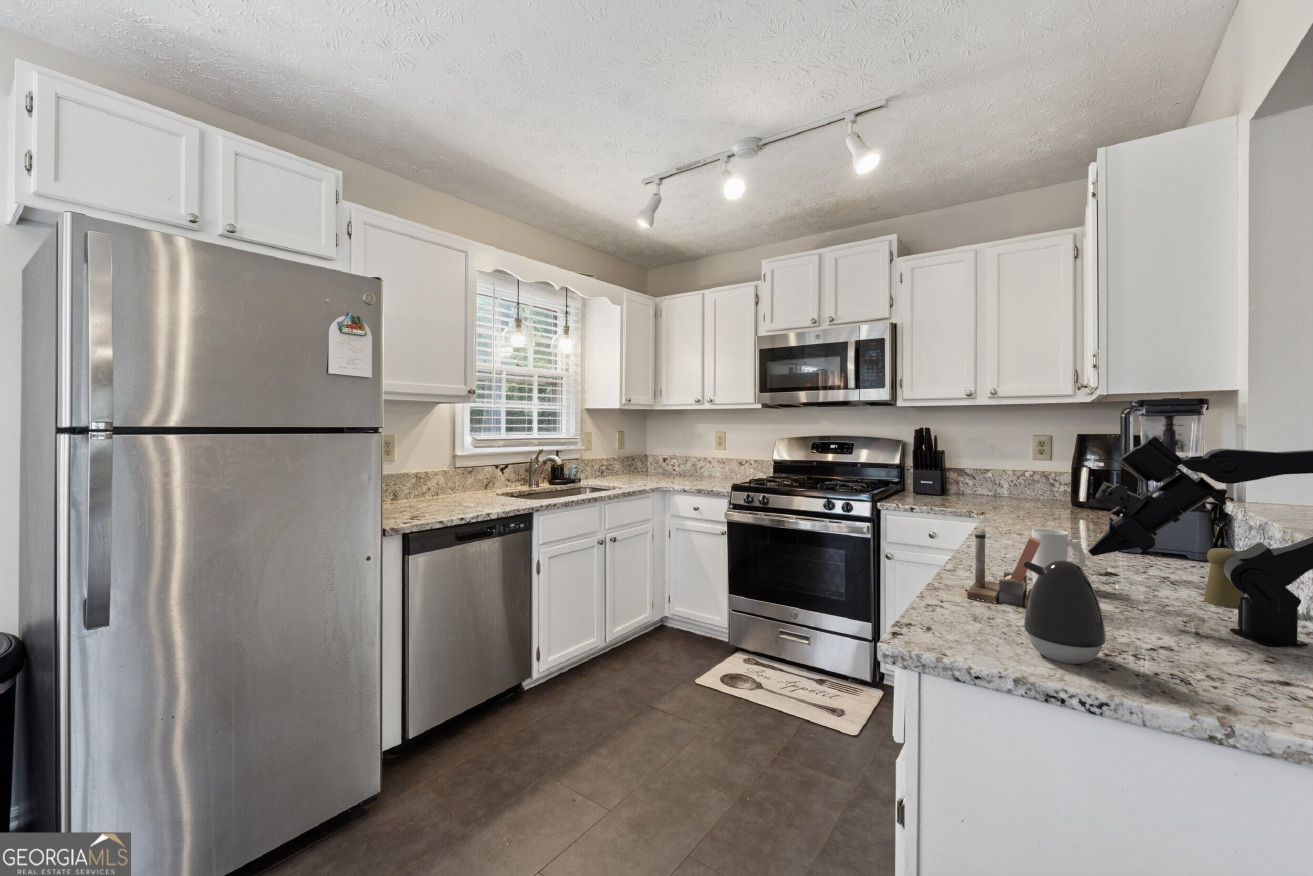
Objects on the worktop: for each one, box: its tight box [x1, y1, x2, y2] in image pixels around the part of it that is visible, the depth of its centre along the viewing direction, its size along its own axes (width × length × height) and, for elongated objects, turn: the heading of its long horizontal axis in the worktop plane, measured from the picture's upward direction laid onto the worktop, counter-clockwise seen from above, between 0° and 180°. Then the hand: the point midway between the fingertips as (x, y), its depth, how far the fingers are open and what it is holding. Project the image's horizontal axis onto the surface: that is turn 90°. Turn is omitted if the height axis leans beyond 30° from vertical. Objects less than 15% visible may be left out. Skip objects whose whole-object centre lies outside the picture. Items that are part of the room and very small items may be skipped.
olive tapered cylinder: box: [1203, 547, 1246, 610], centre depth 110 cm, size 6×6×11 cm
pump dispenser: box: [1023, 560, 1106, 665], centre depth 86 cm, size 10×10×15 cm
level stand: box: [967, 529, 1033, 609], centre depth 115 cm, size 15×11×14 cm
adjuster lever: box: [1005, 535, 1041, 593], centre depth 114 cm, size 4×4×13 cm
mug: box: [1031, 528, 1086, 584], centre depth 123 cm, size 10×7×12 cm, turn 33°
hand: (1090, 553), depth 107 cm, fingers closed
